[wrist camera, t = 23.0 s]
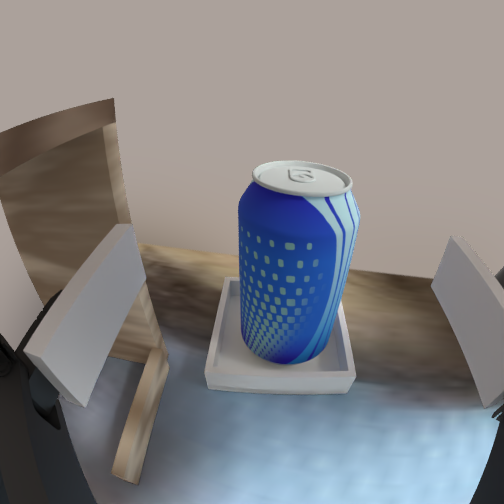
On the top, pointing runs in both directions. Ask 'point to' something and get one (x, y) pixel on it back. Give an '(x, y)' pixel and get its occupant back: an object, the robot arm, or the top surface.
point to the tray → (265, 373)
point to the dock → (81, 237)
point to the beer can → (294, 257)
